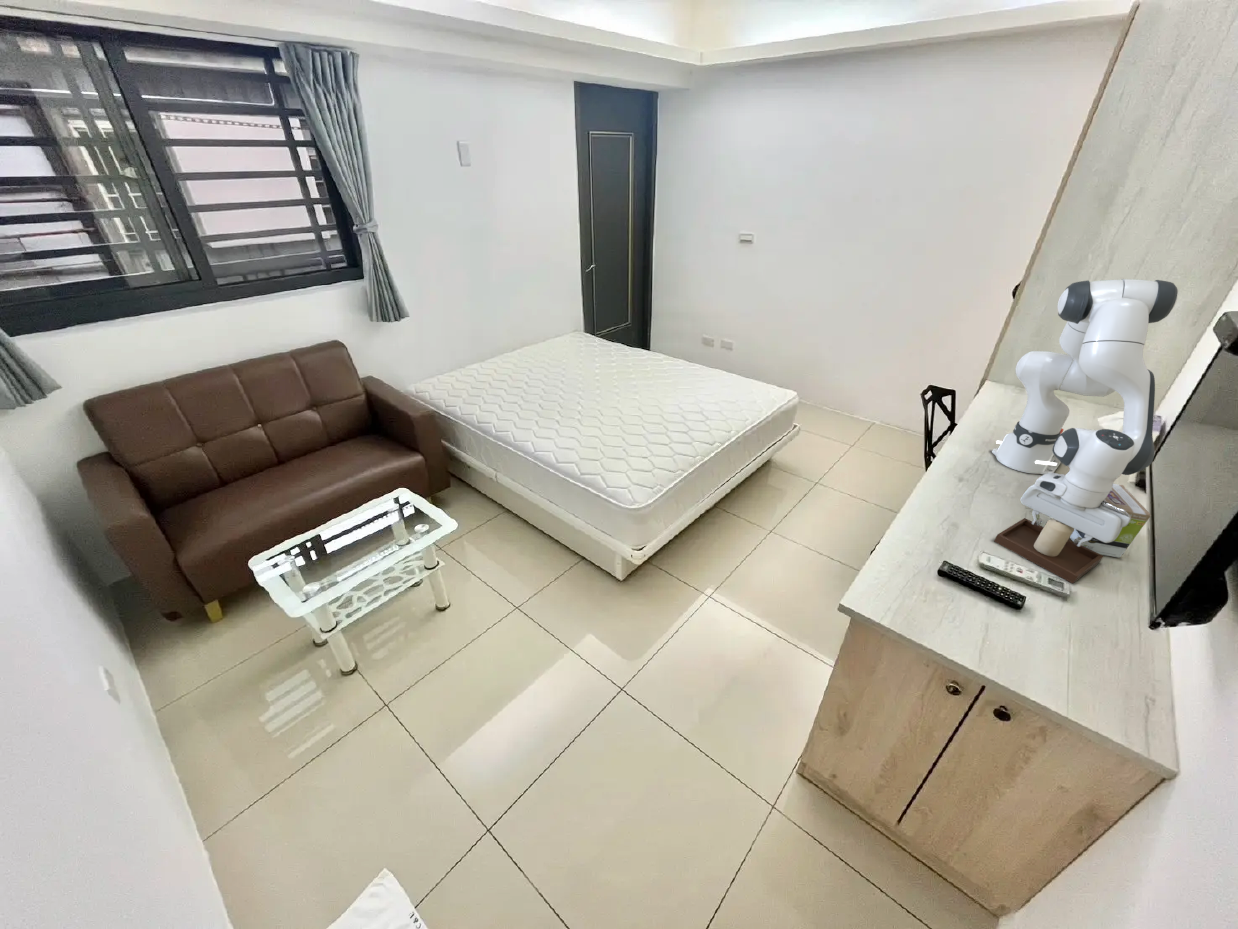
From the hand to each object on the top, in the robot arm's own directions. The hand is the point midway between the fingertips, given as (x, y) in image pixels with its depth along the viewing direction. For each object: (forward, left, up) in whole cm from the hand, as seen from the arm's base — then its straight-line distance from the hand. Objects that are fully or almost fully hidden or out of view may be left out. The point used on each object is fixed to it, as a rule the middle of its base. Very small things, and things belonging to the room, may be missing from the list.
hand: (1055, 534), depth 128 cm
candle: (0, 0, -6) cm, 6 cm away
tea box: (-17, +3, -6) cm, 18 cm away
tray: (0, 0, -6) cm, 6 cm away
